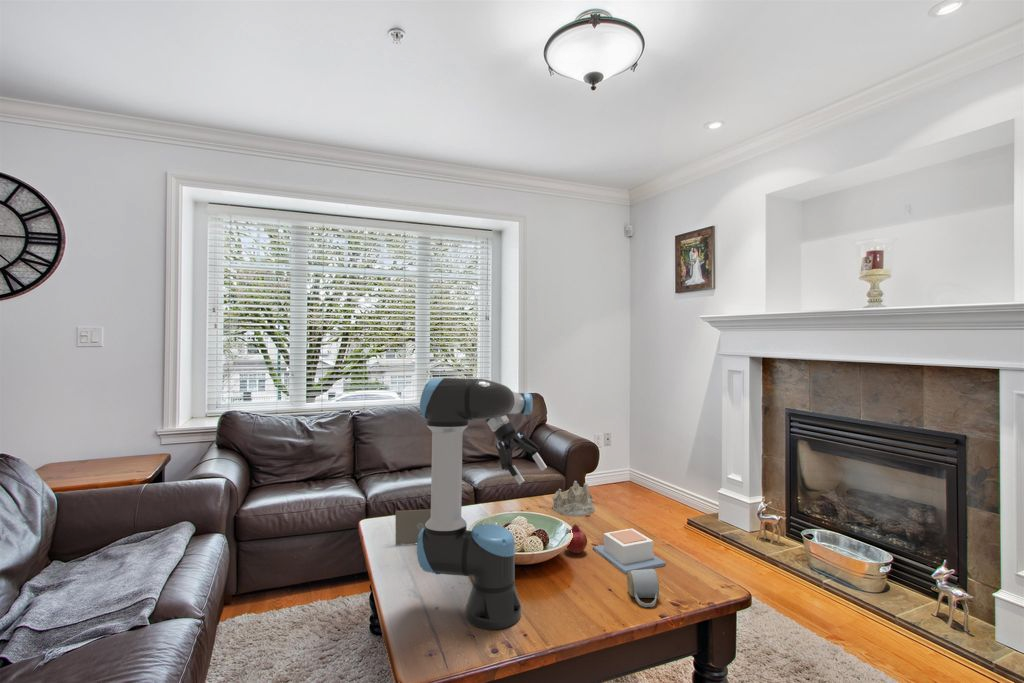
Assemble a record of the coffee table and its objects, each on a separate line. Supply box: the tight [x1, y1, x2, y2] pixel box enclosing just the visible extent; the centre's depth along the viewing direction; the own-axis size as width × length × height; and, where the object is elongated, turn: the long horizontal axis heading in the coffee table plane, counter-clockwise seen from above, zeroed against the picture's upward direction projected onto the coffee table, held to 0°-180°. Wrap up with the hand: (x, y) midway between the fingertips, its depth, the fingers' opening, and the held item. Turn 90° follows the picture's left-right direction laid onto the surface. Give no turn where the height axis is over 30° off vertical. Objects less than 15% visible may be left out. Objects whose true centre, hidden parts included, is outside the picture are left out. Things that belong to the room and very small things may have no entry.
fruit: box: [565, 523, 588, 554], centre depth 176 cm, size 8×8×10 cm
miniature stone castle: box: [552, 480, 596, 518], centre depth 220 cm, size 16×16×15 cm
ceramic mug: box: [626, 568, 660, 608], centre depth 145 cm, size 11×8×8 cm
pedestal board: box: [592, 528, 667, 575], centre depth 173 cm, size 20×16×7 cm
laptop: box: [394, 508, 431, 546], centre depth 190 cm, size 18×12×13 cm
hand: (533, 475), depth 181 cm, fingers open, 13 cm apart
